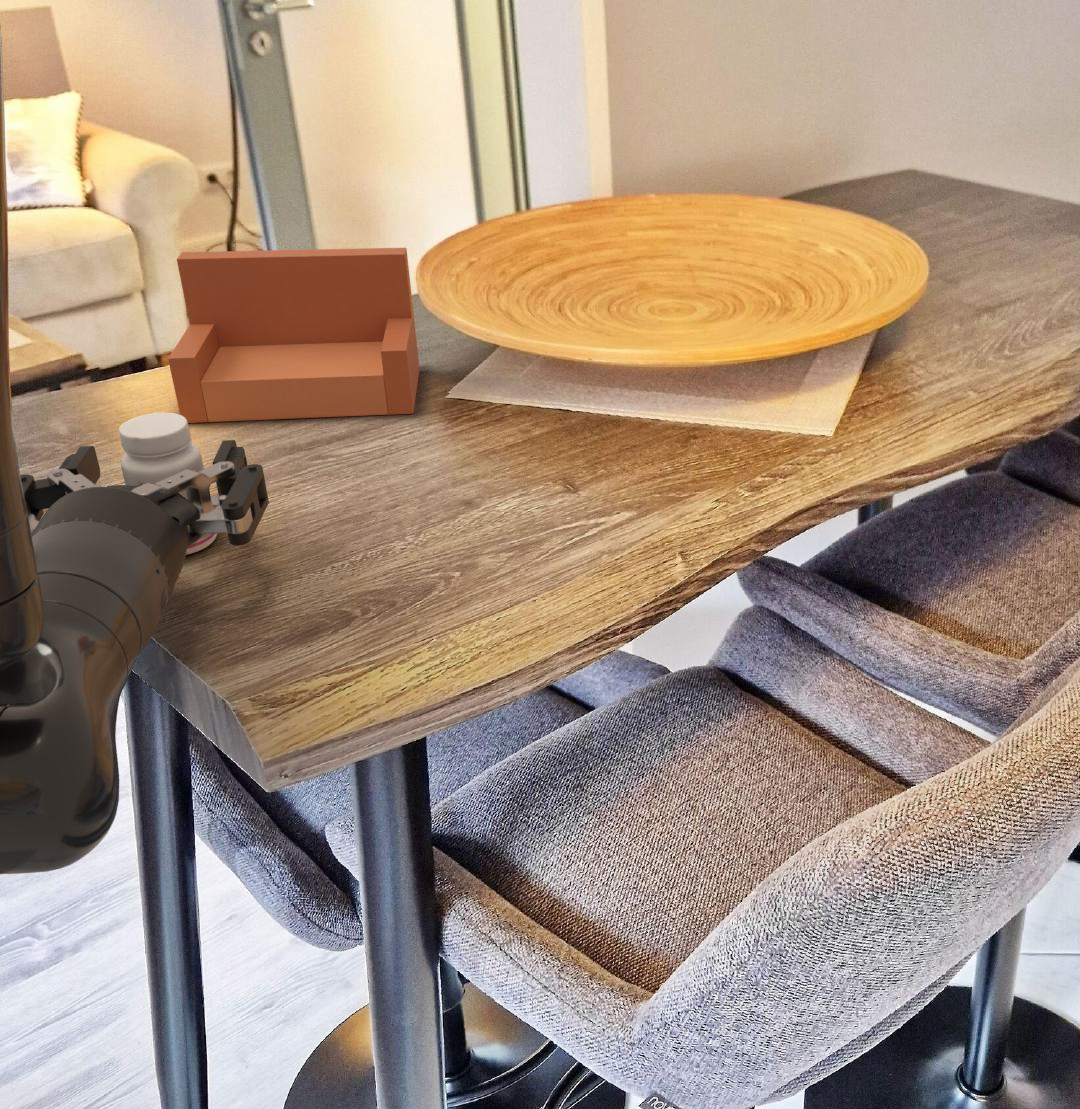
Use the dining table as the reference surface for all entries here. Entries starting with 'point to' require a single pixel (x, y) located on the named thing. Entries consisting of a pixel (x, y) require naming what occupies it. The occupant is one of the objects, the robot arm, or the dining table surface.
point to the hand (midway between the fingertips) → (162, 456)
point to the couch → (296, 335)
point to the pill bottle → (160, 454)
